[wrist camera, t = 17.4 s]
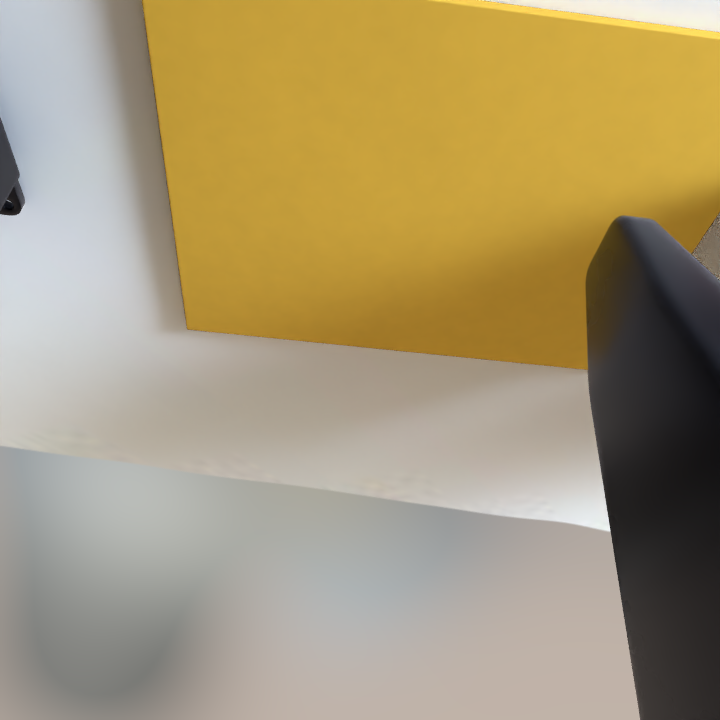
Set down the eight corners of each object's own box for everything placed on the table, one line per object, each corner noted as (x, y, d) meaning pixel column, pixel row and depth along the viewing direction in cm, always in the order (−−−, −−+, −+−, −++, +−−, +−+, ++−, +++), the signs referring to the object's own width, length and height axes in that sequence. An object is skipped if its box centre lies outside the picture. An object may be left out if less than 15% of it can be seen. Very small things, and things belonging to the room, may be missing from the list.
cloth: (188, 322, 30) (186, 329, 30) (139, -47, 18) (135, -41, 18) (610, 365, 31) (611, 372, 31) (822, 45, 19) (828, 52, 19)
